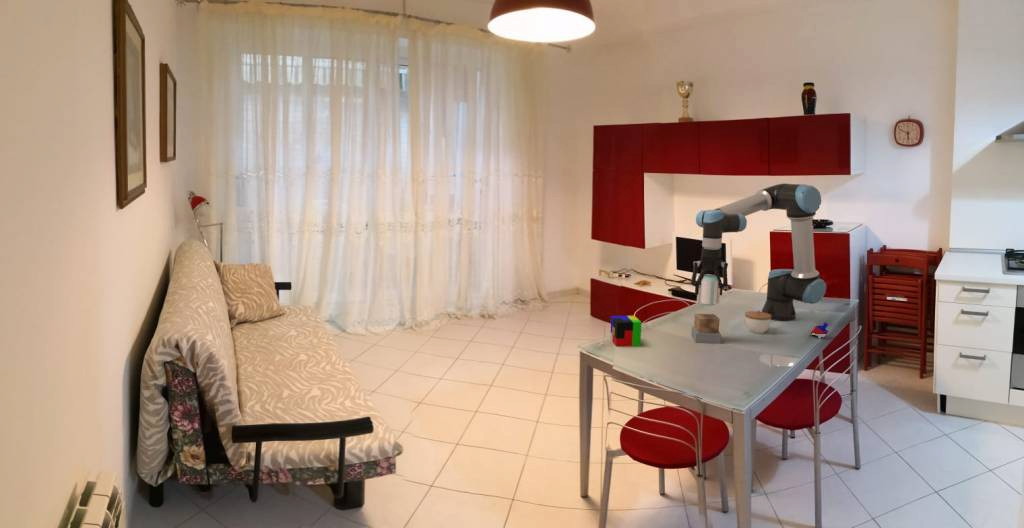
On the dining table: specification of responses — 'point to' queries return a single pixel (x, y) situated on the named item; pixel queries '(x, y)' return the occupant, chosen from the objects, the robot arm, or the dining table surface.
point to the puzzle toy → (625, 331)
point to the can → (709, 290)
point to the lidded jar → (757, 321)
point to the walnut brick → (706, 323)
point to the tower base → (705, 337)
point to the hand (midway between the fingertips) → (707, 302)
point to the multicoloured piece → (820, 329)
